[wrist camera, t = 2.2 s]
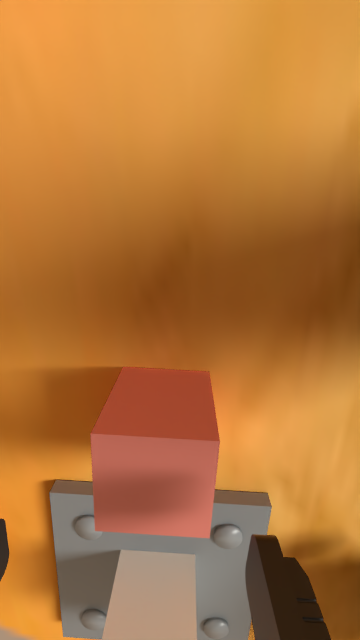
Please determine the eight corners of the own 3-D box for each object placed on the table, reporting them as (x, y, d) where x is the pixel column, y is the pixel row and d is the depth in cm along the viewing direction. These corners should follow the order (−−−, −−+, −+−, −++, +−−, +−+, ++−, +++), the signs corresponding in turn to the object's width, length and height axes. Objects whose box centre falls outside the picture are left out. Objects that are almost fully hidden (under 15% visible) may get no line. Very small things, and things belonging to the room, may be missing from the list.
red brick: (209, 371, 17) (219, 441, 11) (203, 443, 18) (209, 538, 13) (123, 366, 17) (90, 433, 11) (123, 438, 19) (94, 530, 13)
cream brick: (195, 554, 20) (197, 686, 14) (190, 605, 21) (191, 744, 15) (120, 549, 20) (93, 679, 14) (121, 600, 21) (96, 737, 15)
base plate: (267, 493, 19) (272, 511, 18) (243, 632, 23) (246, 654, 22) (56, 479, 20) (47, 496, 18) (68, 620, 24) (61, 641, 22)
